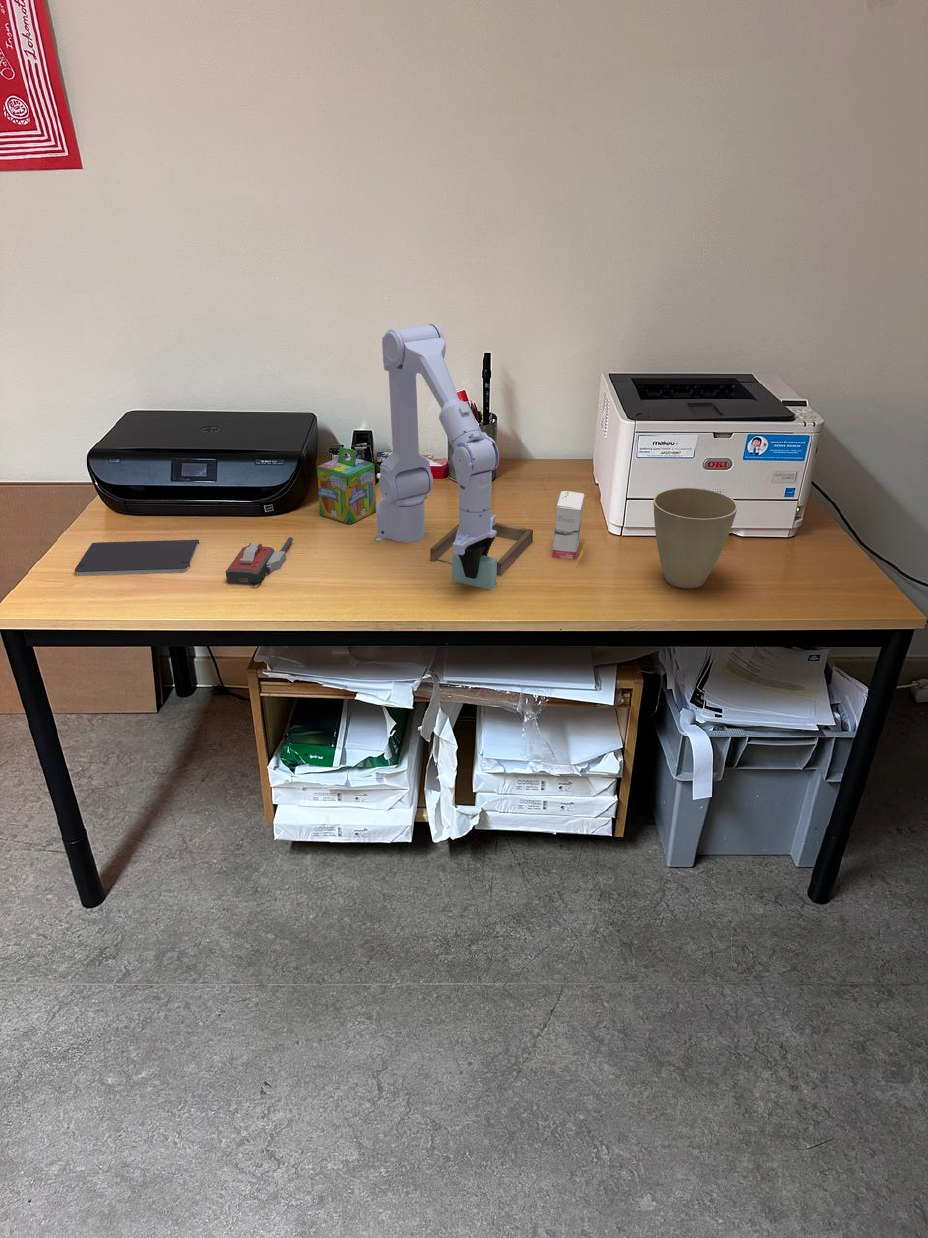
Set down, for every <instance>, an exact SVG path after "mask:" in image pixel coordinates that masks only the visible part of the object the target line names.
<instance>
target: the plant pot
mask: <svg viewBox="0 0 928 1238" xmlns="http://www.w3.org/2000/svg"><path fill="white" fill-rule="evenodd" d="M738 508H739V506H738V503H737V502H736V500H734V499H733V498H732V497H730V496H729V495H726V494H724V493H723V492H719V491H716V490H712V489H707V488H703V487H701V488H699V487H690V486H689V487H675V488H668V489H666V490H663V491H661V492H658V493H657V494H656V495H655V496H654V497H653V519H654V521H653V522H654V531H655V538H656V539H655V540H656V545H657V551H658V556H659V559H660V560H659V561H660V565H661V568H662V569H661V570H662V573H663V576H664V579H665V581H666V583H668V584H670V585H672V586H674V587H675V588H676V587H677V588H680V589H695V588H700V587H701V586H703V585H704V584H705V583H706V581H707V579H708V577H709V576H710V574H711V573H712V571H713V569H714V567H715V565H716V563H717V561H718V560H719V558H720V555H721V554H722V551H723V549H724V547H725V544H726V542H727V541H728V537H729V535H730V532H731V529H732V527H733V523H734V521H735V517H736V514H737V511H738Z"/></svg>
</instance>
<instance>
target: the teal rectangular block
mask: <svg viewBox="0 0 928 1238" xmlns="http://www.w3.org/2000/svg"><path fill="white" fill-rule="evenodd" d="M451 559H452V564H451V581H452V583H453V582H454V583H459V584H462V585H468V586H472V587H477V588H481V589H485V590H489V591H492V590H494V587H495V586H496V585H497V578H498V577H497V576H498V575H497V562H498V558H497V557H493V556H489V555H487V556H484V555H481V558H480V562H479V569H478V574H477V577H476V579H472V578H468V577H465V574H464V570H463V567H462V563H461V560H460V558H459V556H458V554H454V553H452V555H451Z"/></svg>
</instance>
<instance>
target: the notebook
mask: <svg viewBox="0 0 928 1238" xmlns="http://www.w3.org/2000/svg"><path fill="white" fill-rule="evenodd" d="M199 545H200V540H199V539H174V540H173V539H172V540H169V539H167V540H139V541H138V540H137V541H101V542H100V541H99V542H98V541H97V542H91V544H90V546H89V547H88V548H87V550H86V551H85V553H84V554H83V556H82V558H81V559H80V561H79V562H78V563H77V565H76V567H75V568H74V570H73V571H74V572H76V575H77V576H80V577H83V576H109V575H110V576H112V575H113V576H114V575H115V576H116V575H144V574H145V575H146V574H147V575H148V574H176V573H180V574H181V573H185V572H187V571H188V570H189V568H190V567H191V563H192V559H193V558H194V555H195V553H196V551H197V548H198V546H199Z"/></svg>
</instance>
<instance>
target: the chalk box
mask: <svg viewBox="0 0 928 1238" xmlns="http://www.w3.org/2000/svg"><path fill="white" fill-rule="evenodd" d="M345 454H347V455H345ZM375 466H376V465H375V463H373V462H370V461H368V460H365V459H361V458H357V450H356V449H351V448H348V447H345V446H344V447H343V446H339V449H338V456H337V458H334V459H332V460H330V461H327V462H324V463H322V464H320V465H317V466H316V471H317V484H318V485H317V487H318V504H319V505H318V506H319V515H320V516H322V517H323V516H324V517H326V518H329V519H332V520H335V521H338V522H341V523H343V524H346V525H349V526H351V525H352V524H355V523H357V522H358V521H360V520H362V519H365V518H366V517H368V516H370V515H372V514H374V513H377V503H376V501H377V500H376V499H377V498H376V472H375V471H376V467H375Z"/></svg>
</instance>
